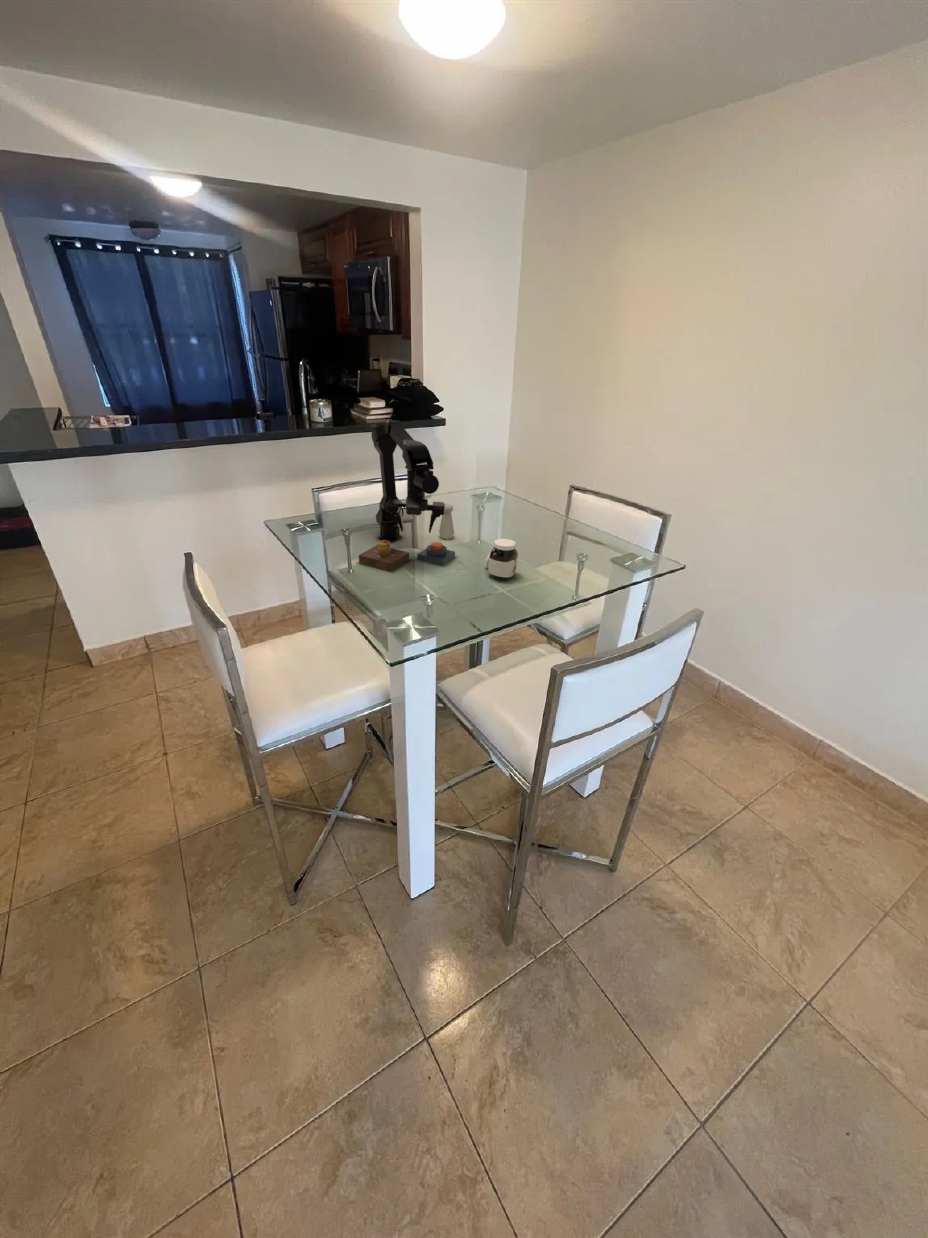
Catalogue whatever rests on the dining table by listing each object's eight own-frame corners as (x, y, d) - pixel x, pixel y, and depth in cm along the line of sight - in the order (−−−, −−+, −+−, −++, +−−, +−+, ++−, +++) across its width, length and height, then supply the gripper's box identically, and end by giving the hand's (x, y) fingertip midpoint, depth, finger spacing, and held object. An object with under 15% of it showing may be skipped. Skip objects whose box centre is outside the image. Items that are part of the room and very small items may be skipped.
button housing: (417, 559, 176) (417, 549, 174) (430, 551, 183) (430, 541, 181) (442, 566, 172) (443, 555, 171) (454, 557, 180) (455, 546, 178)
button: (428, 549, 175) (428, 544, 174) (434, 545, 178) (434, 541, 178) (438, 551, 174) (439, 547, 173) (444, 548, 177) (444, 543, 176)
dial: (386, 556, 169) (385, 544, 167) (376, 554, 171) (375, 542, 169) (392, 552, 173) (392, 540, 170) (382, 550, 174) (382, 538, 172)
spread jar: (505, 584, 162) (508, 549, 157) (474, 575, 167) (476, 541, 162) (521, 571, 171) (525, 539, 166) (492, 563, 176) (495, 531, 171)
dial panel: (359, 563, 171) (358, 554, 170) (377, 552, 180) (377, 544, 178) (391, 571, 166) (391, 562, 165) (409, 560, 175) (409, 551, 174)
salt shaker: (451, 541, 193) (453, 507, 187) (437, 539, 194) (438, 506, 188) (455, 536, 198) (456, 503, 192) (440, 534, 199) (441, 501, 193)
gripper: (382, 490, 156) (384, 539, 164) (443, 494, 156) (442, 542, 164) (388, 481, 166) (389, 527, 174) (445, 484, 166) (444, 530, 174)
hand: (416, 532), depth 171 cm, fingers open, 9 cm apart
